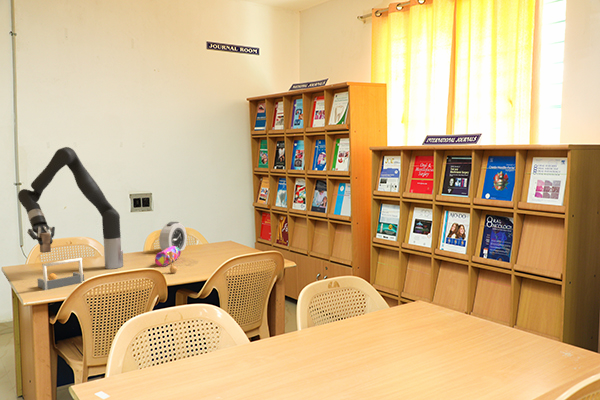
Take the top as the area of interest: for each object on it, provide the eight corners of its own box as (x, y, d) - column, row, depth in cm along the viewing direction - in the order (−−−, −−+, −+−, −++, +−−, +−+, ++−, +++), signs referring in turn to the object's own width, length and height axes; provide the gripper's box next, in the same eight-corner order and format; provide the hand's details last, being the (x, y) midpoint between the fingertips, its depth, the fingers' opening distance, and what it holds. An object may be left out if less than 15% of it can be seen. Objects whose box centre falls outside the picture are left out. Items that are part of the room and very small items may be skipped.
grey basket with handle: (76, 279, 259) (75, 255, 258) (84, 282, 253) (83, 257, 252) (36, 286, 245) (35, 261, 244) (43, 290, 239) (42, 264, 237)
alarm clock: (169, 254, 322) (168, 224, 320) (159, 253, 325) (158, 223, 323) (187, 248, 342) (186, 220, 340) (178, 247, 344) (177, 219, 343)
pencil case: (170, 267, 286) (169, 251, 285) (154, 267, 286) (153, 251, 286) (181, 259, 307) (181, 244, 307) (166, 259, 308) (166, 244, 307)
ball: (55, 279, 259) (54, 272, 259) (58, 280, 256) (57, 273, 256) (47, 281, 256) (46, 273, 256) (50, 282, 253) (49, 274, 253)
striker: (47, 250, 268) (47, 232, 267) (50, 251, 265) (50, 233, 264) (40, 251, 265) (39, 233, 264) (42, 252, 262) (42, 234, 261)
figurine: (167, 274, 267) (166, 252, 266) (163, 272, 271) (162, 251, 270) (182, 272, 272) (181, 250, 271) (177, 270, 277) (176, 249, 276)
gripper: (24, 215, 263) (33, 241, 256) (52, 213, 273) (62, 238, 266) (21, 224, 267) (30, 250, 260) (49, 222, 277) (58, 246, 270)
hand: (46, 243), depth 263 cm, fingers closed on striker, 4 cm apart
